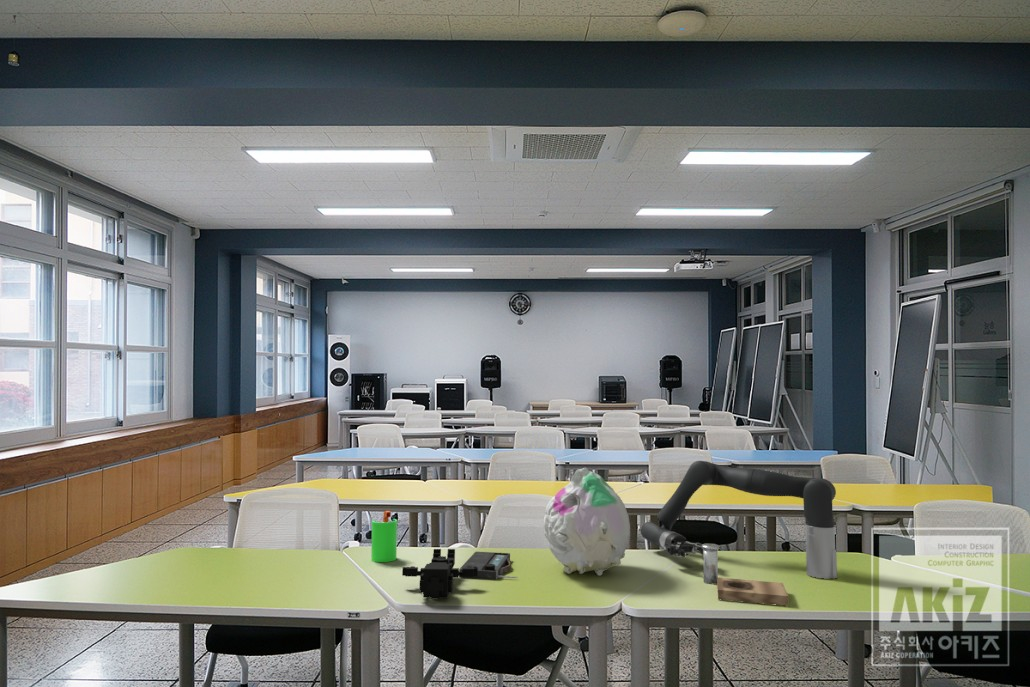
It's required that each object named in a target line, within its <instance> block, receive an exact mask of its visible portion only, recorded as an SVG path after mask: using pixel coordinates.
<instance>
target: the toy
mask: <svg viewBox="0 0 1030 687" xmlns="http://www.w3.org/2000/svg"><path fill="white" fill-rule="evenodd" d="M455 564H456V549H455V548H448V549H447V553H446V556H443V555H442V549H441V548H433V553H432V558H431V562H429V563H426V564H425V566H424V567H420V570H419V567H418V566H403V567H402V571H401V572H402V574H401V575H402V577H403V576H404V577H413V578H414V577H419V592H420V593H422V598H427V599H429V598H430V599H440V598H442V599H446V598H448V597H449V594H450V593H453V590H454V587H453V586H454V578H460V577H459V576H462V577H474V576H478V568H471V567H467V568H463V569H462V571H459V569H460V567H456V568H455V567H454V566H455Z"/></svg>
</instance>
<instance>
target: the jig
mask: <svg viewBox="0 0 1030 687" xmlns="http://www.w3.org/2000/svg"><path fill="white" fill-rule="evenodd" d="M716 589H718V590H717V600H718V599H721V600H720V601H725V600H733V601H732V602H736V601H743V602H742V603H746V602H754V603H753V604H757V603H764V604H763V605H768V604H776V605H775V606H778V605H785V606H784V607H789V595H788V592H787V590H786V588H785V585H784V583H783V582H775V581H764V580H750V579H742V578H729V577H727V578H726V577H719V576H718V577H717V586H716Z"/></svg>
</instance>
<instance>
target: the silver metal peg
mask: <svg viewBox="0 0 1030 687" xmlns="http://www.w3.org/2000/svg"><path fill="white" fill-rule="evenodd" d="M701 544H702V543H701ZM719 547H720V546H719V545H718V544H716V543H703V544H702V549H703V562H702V564H703V582H704V583H705V582H706V583H705V584H708V583H717V577H718V578H719V566H718V564H719V563H718V562H719V561H718V560H719V558H718V556H719V555H718V554H719V553H718V550H720V548H719Z"/></svg>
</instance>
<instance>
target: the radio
mask: <svg viewBox="0 0 1030 687" xmlns="http://www.w3.org/2000/svg"><path fill="white" fill-rule="evenodd" d="M510 561H511V553H510V552H509V553H508V552H491V551H475V552H474V553H472V554H471V556H470V557H469V558H468V559H467V560H466V561H465V562H464V563H463V565H461V567H459V571H462V569H463V568H467V567H471V568H478V576H474V577H462V576H459V577H458V578H459V579H460V578H463V579H477V580H478V579H479V580H493V581H494V580H498V579H500V578H503V579H504V578H505V579H507V578H509V579H518V578H519V577H518V576H511V575H509V576H508V575H503V574H505V573H508V572H509V571H511V562H510Z"/></svg>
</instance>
